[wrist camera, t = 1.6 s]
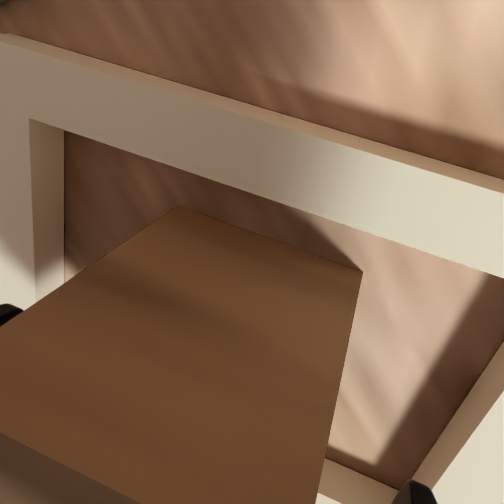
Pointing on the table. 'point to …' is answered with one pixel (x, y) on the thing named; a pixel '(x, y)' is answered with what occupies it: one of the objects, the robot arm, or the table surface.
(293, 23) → the table surface
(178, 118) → the pocket frame
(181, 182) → the table surface
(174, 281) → the block
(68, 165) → the table surface
